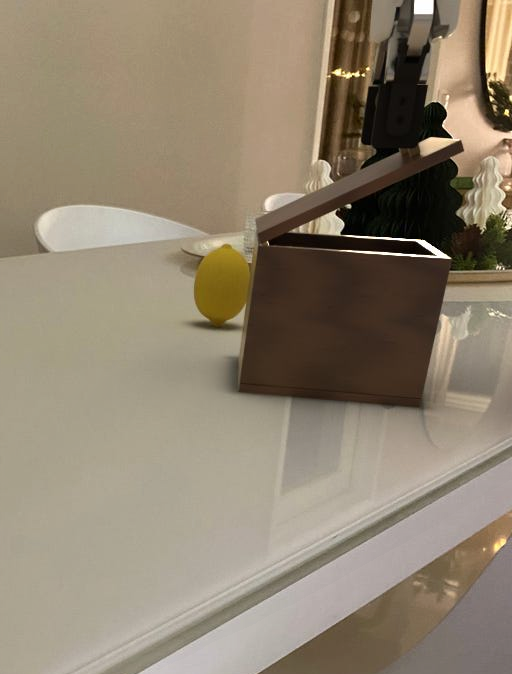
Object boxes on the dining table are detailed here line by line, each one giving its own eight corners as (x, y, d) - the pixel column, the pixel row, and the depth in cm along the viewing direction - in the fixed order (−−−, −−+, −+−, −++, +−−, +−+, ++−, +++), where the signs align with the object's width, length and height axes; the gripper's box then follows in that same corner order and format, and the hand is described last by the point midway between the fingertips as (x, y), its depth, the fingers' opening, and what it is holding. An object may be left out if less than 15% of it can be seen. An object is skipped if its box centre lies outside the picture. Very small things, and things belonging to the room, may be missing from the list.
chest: (397, 373, 90) (424, 240, 85) (419, 409, 79) (452, 258, 74) (238, 360, 92) (255, 229, 87) (238, 393, 81) (258, 245, 76)
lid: (434, 147, 82) (412, 71, 80) (464, 151, 71) (439, 63, 69) (258, 228, 87) (233, 158, 85) (260, 244, 76) (232, 164, 74)
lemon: (195, 320, 109) (204, 238, 105) (248, 325, 107) (259, 243, 104) (184, 328, 104) (193, 243, 101) (239, 334, 103) (251, 248, 99)
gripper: (525, -189, 61) (462, 151, 69) (467, -129, 76) (421, 144, 84) (392, -186, 62) (346, 149, 70) (361, -127, 77) (326, 142, 85)
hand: (387, 144), depth 77 cm, fingers closed on lid, 6 cm apart
